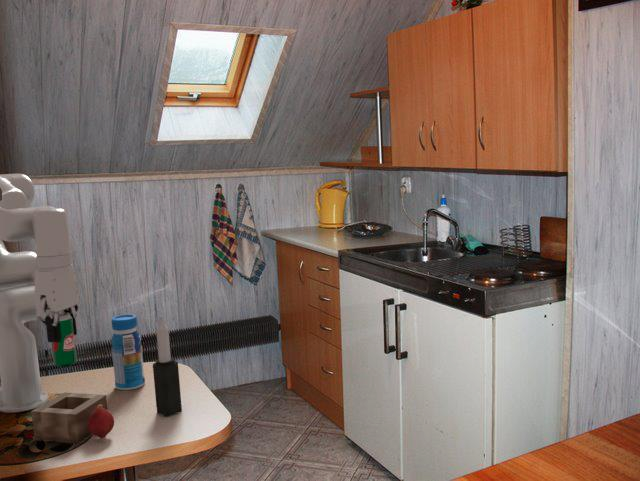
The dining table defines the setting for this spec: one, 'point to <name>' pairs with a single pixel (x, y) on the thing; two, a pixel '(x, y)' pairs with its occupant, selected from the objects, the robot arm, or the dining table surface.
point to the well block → (66, 417)
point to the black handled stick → (166, 375)
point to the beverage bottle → (127, 353)
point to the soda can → (65, 342)
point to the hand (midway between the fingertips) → (62, 337)
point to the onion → (100, 422)
